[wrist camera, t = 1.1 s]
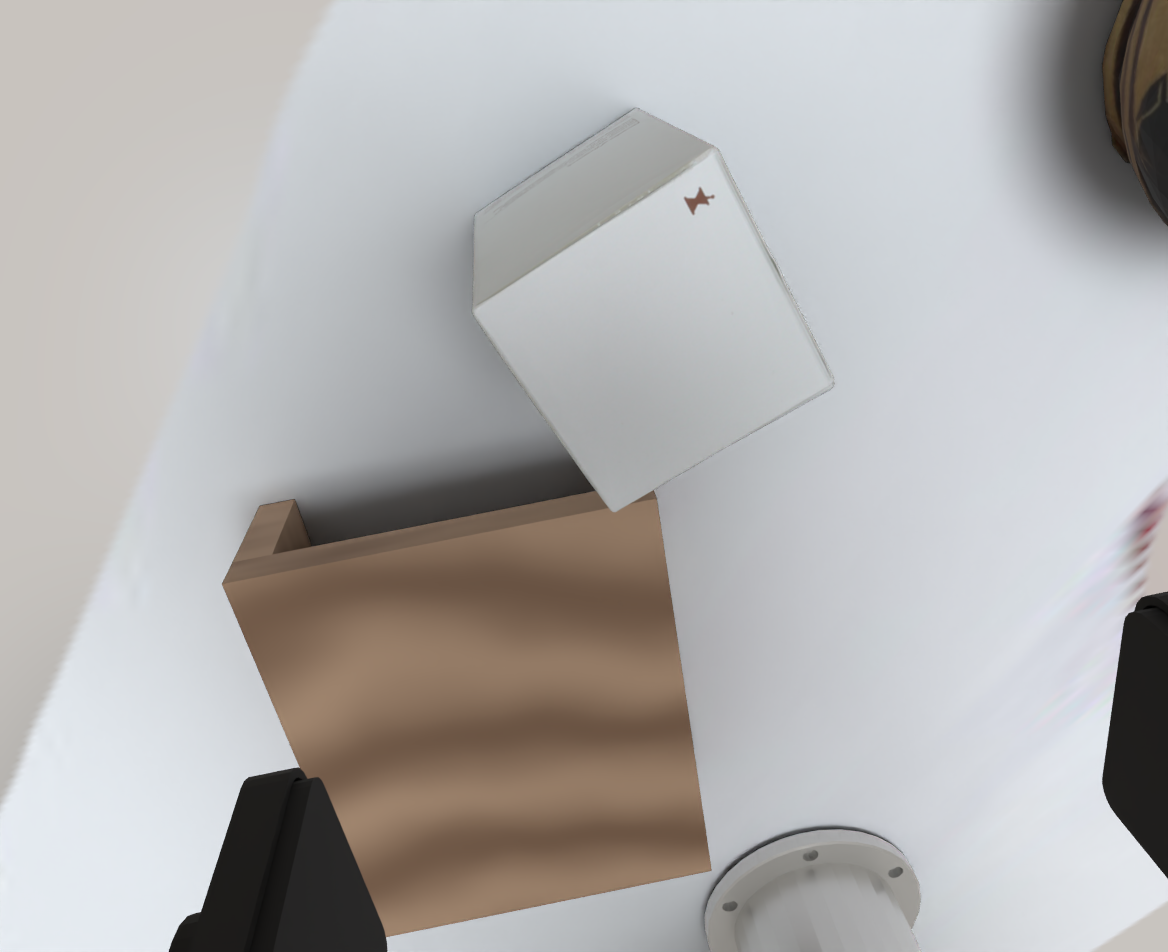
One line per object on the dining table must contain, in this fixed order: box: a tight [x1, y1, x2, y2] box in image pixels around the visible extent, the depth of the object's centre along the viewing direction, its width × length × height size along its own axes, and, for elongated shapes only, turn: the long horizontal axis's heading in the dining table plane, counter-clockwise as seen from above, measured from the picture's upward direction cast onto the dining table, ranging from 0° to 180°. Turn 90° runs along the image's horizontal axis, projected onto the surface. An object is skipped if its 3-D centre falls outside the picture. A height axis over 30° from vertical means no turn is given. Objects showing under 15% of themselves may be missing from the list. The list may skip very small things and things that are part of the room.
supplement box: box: [472, 108, 835, 512], centre depth 28 cm, size 7×7×13 cm
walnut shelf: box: [222, 490, 712, 937], centre depth 39 cm, size 20×16×6 cm
